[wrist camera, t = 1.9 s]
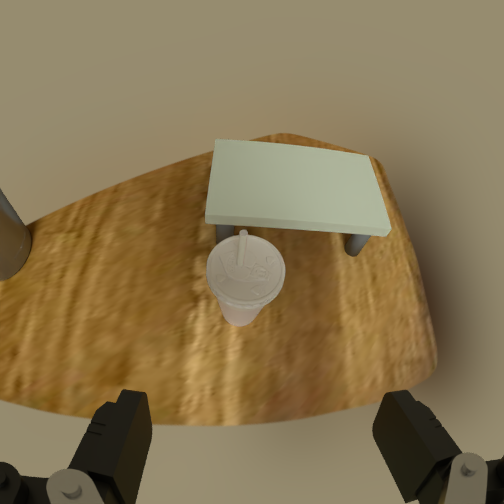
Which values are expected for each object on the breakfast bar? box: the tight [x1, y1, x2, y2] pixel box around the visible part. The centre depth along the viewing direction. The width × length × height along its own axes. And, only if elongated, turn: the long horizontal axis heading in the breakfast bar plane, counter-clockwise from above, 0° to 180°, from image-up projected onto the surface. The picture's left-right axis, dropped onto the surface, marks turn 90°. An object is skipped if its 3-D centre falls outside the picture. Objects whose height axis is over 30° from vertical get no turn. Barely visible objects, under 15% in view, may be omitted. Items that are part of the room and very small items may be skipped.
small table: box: [205, 139, 391, 256], centre depth 37 cm, size 20×12×7 cm, turn 90°
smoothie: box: [206, 230, 285, 326], centre depth 27 cm, size 6×6×14 cm
